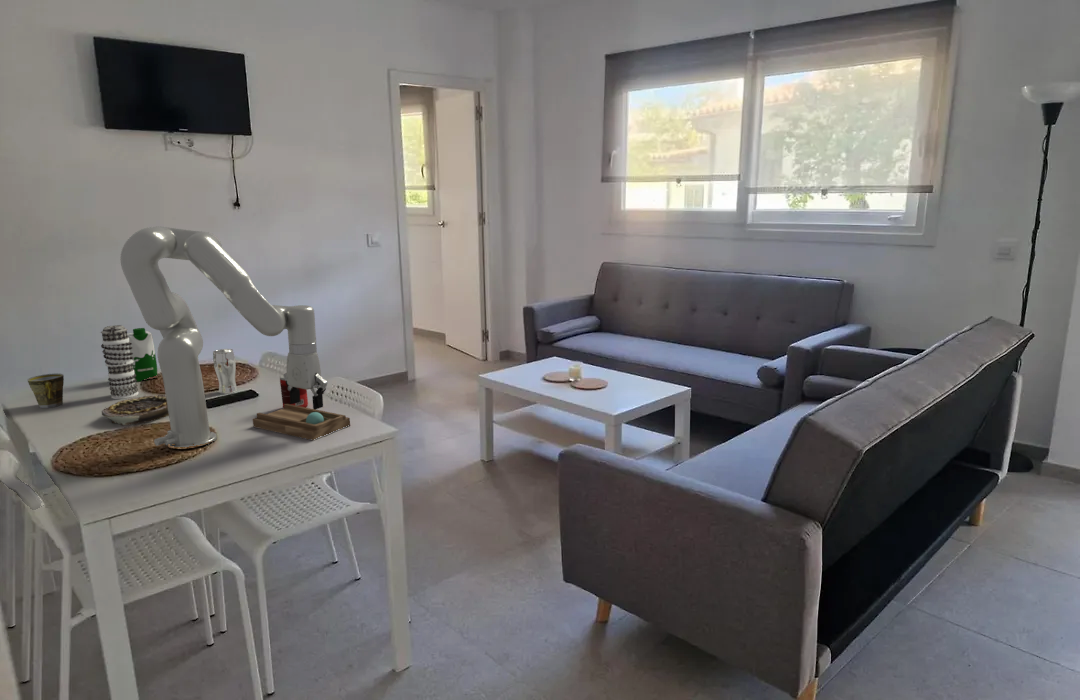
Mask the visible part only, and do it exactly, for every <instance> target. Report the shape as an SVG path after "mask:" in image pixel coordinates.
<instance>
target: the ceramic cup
mask: <svg viewBox="0 0 1080 700" xmlns="http://www.w3.org/2000/svg"><path fill="white" fill-rule="evenodd" d="M64 381H65V380H64V373H58V372H57V373H55V372H54V373H44V374H40V375H39V374H37V375H35V376H32V377H29V378H27V383H28V385H29V387H30V390H31V391H32V392H33V395H34V397H35V400H36V403H37V404H38V407H39V408H40V409H49V408H56V407H59V406H61V405H63V401H64V399H63V397H64Z"/></svg>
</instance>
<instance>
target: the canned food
mask: <svg viewBox="0 0 1080 700" xmlns="http://www.w3.org/2000/svg"><path fill="white" fill-rule="evenodd" d="M284 374H285V373H284ZM284 374H281V375H280V376H279V384H280V386H279V387H280V394H281V401H282V403H281V404H282V407H283V408H282V409H284V404H290V405H295V406H300V407H305V408H308V405H309V401H308V400H309V399H308V390H306V389H301V388H297V389H299V390H300V402H298V403H295V404H291V403H290V392H289V390H288V386H287V385H286V383H285V382H286V381H285V379H284V376H283V375H284Z"/></svg>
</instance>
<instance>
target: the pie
mask: <svg viewBox="0 0 1080 700" xmlns="http://www.w3.org/2000/svg"><path fill="white" fill-rule="evenodd" d="M101 415H102V416H103V417H105V418H107V419H109V420H111V423H112V424H116V425H118V424H120V426H130V425H137V424H145V423H149V422H150V423H151V422H153V421H156V420H160V419H162V418H163V419H164V418H166V417H169V413H168V406H167V400H166V394H158V395H153V394H152V395H144V396H139V397H133V398H126V399H123V400H122V399H121V400H120V401H116V402H115V403H114V404H111V405H109V406H108V407H107V406H105V407H104V408H103V409H102V410H101Z"/></svg>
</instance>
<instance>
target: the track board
mask: <svg viewBox="0 0 1080 700" xmlns="http://www.w3.org/2000/svg"><path fill="white" fill-rule="evenodd" d="M313 412H318V413H320V414H321V415H322V416H323V418H324V421H323V422H321V423H318V424H315V425H314V424H310V423H306V418H307V416H308V415H309V414H310V413H313ZM348 425H350V426H351V418H350V417H347V416H346V415H344V414H339V413H335V412H329V411H325V410H320V409H313V408H311V407H306V408H305V407H300V406H295V405H290V404H284V408H281V409H278V410H275V411H272V412H268V413H263V412H257V413H256V417H254V418H252V426H253V427H254V428H257V429H262V430H266V431H271V432H274V433H275V432H276V433H280V434H283V435H288V436H292V437H296V438H300V437H301V439H304V438H306V439H305V440H309V439H312V440H311V441H313V440H314V439H316V438H318V437H320V436H324V435H326V434H329V433H331V432H333V431H336V430H338V429H341V428H343V427H346V426H348ZM346 428H347V427H346ZM341 430H342V429H341ZM336 432H337V431H336ZM331 434H332V433H331ZM329 435H330V434H329ZM326 436H327V435H326ZM324 437H325V436H324ZM316 440H317V439H316ZM314 441H315V440H314Z"/></svg>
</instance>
